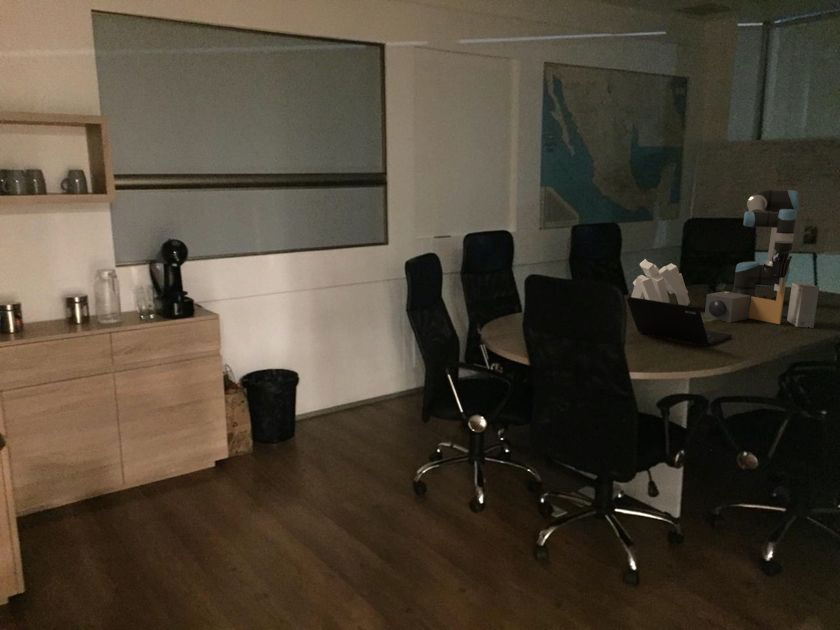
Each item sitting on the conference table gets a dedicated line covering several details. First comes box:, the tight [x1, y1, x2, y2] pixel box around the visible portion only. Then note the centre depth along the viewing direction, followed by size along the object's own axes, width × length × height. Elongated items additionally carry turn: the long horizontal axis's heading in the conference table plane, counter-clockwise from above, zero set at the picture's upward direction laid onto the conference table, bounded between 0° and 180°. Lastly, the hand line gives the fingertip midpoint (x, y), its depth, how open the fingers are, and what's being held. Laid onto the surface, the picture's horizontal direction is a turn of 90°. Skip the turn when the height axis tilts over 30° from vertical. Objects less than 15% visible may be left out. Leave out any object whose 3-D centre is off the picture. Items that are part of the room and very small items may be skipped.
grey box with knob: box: [704, 290, 750, 323], centre depth 339 cm, size 18×14×13 cm
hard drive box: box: [786, 281, 820, 329], centre depth 326 cm, size 16×8×20 cm, turn 168°
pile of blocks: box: [630, 258, 691, 306], centre depth 359 cm, size 35×30×35 cm
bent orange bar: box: [748, 281, 787, 325], centre depth 330 cm, size 16×1×21 cm, turn 32°
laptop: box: [626, 296, 733, 347], centre depth 297 cm, size 33×38×19 cm
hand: (777, 290), depth 322 cm, fingers closed
